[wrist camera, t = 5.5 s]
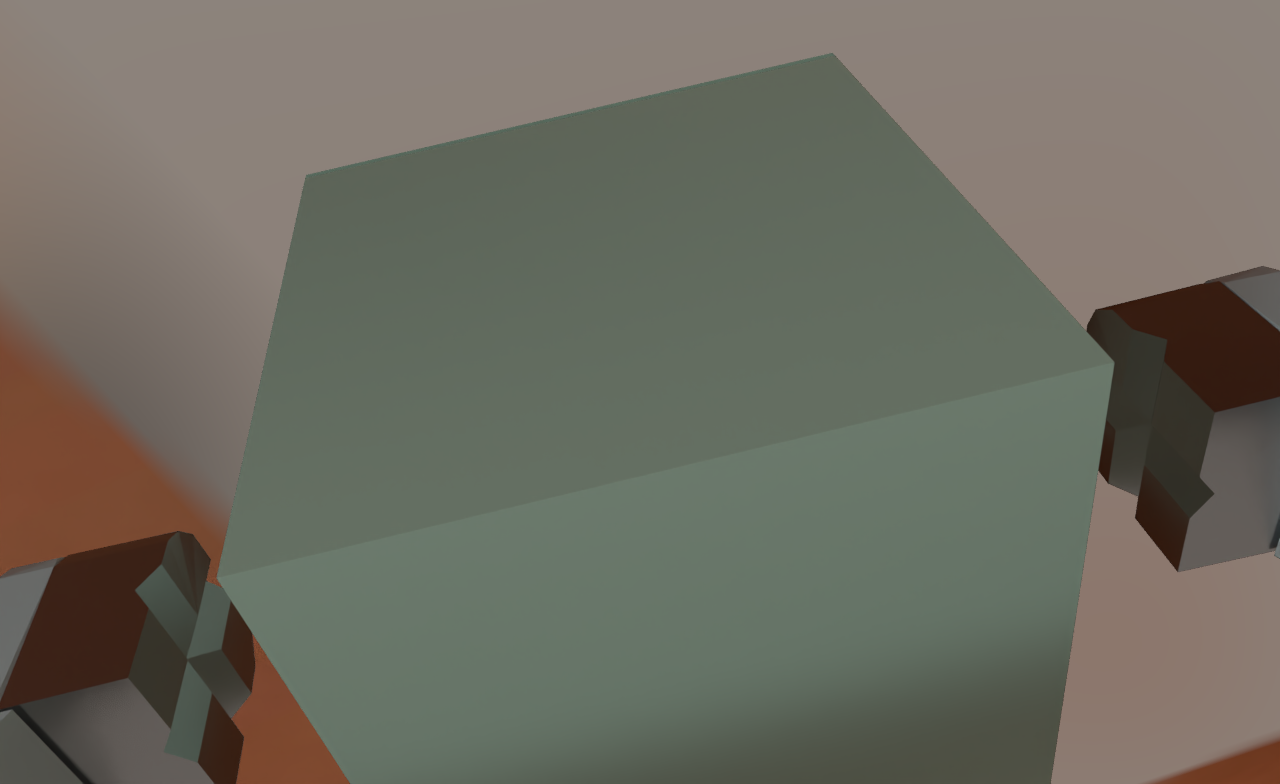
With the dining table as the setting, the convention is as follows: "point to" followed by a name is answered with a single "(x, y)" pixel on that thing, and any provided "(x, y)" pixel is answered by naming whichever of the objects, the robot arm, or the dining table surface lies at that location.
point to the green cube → (669, 456)
